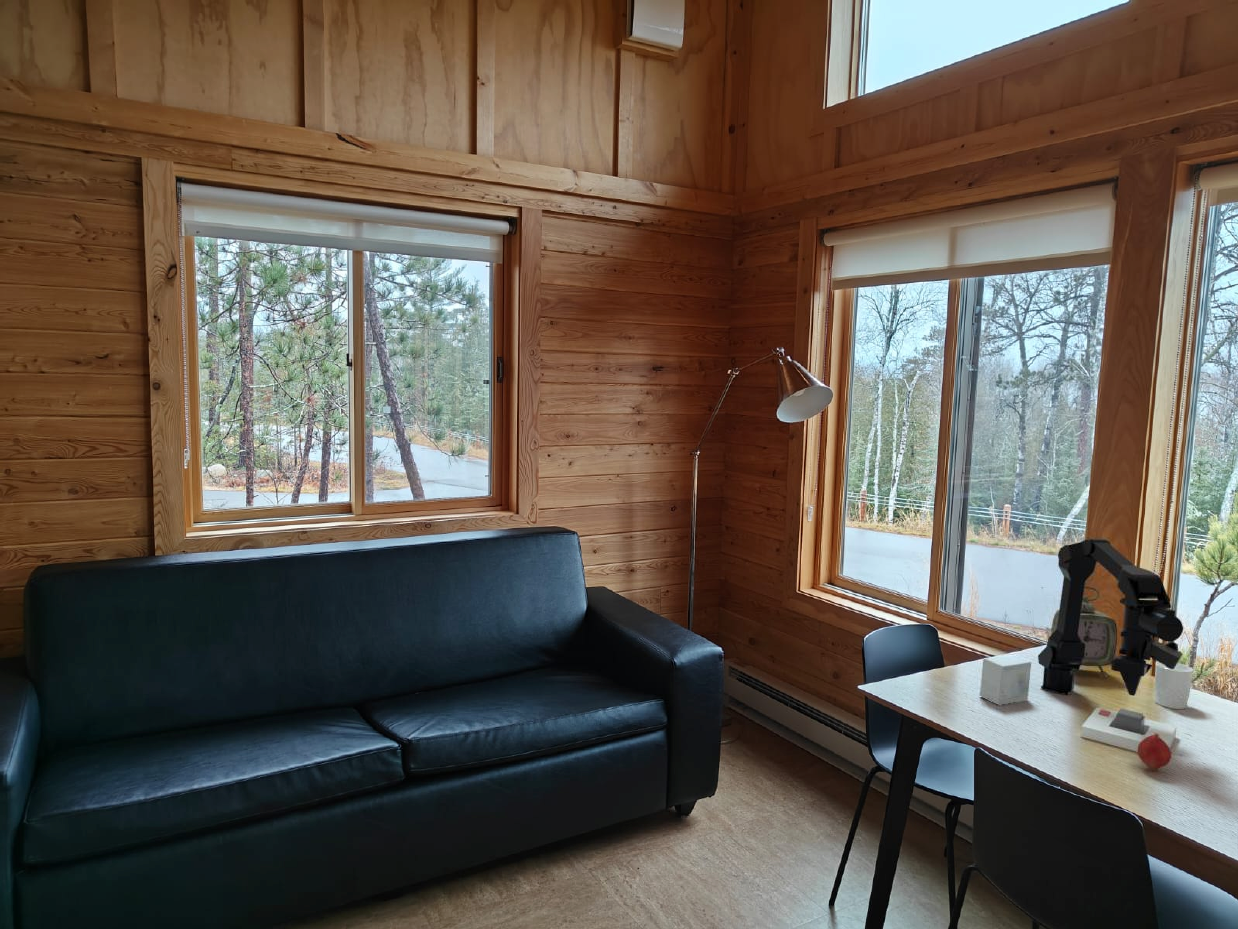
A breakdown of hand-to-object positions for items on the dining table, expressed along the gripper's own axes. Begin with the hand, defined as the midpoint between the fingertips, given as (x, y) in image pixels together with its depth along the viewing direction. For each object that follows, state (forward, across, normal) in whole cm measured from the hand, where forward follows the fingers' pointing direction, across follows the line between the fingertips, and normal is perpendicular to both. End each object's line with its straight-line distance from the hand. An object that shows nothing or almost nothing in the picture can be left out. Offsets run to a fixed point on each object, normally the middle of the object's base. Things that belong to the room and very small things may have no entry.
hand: (1132, 695), depth 185 cm
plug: (+9, 0, 0) cm, 9 cm away
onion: (+10, -16, -7) cm, 20 cm away
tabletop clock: (+10, +42, +19) cm, 47 cm away
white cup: (+10, +32, -4) cm, 34 cm away
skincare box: (+10, +4, +28) cm, 30 cm away
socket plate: (+10, 0, 0) cm, 10 cm away
